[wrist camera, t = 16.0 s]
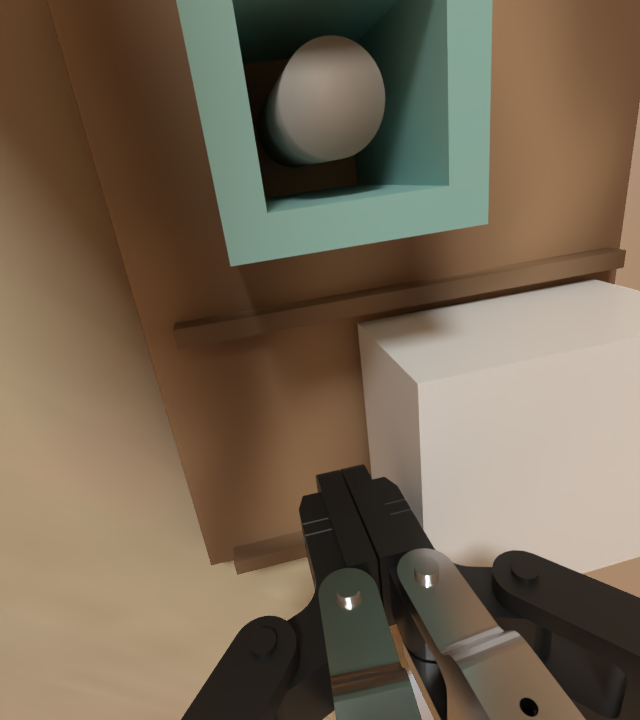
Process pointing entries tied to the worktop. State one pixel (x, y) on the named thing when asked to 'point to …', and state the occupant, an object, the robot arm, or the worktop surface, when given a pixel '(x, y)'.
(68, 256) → the worktop surface
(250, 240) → the sleeve
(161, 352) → the board
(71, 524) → the worktop surface
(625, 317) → the white rectangular block
